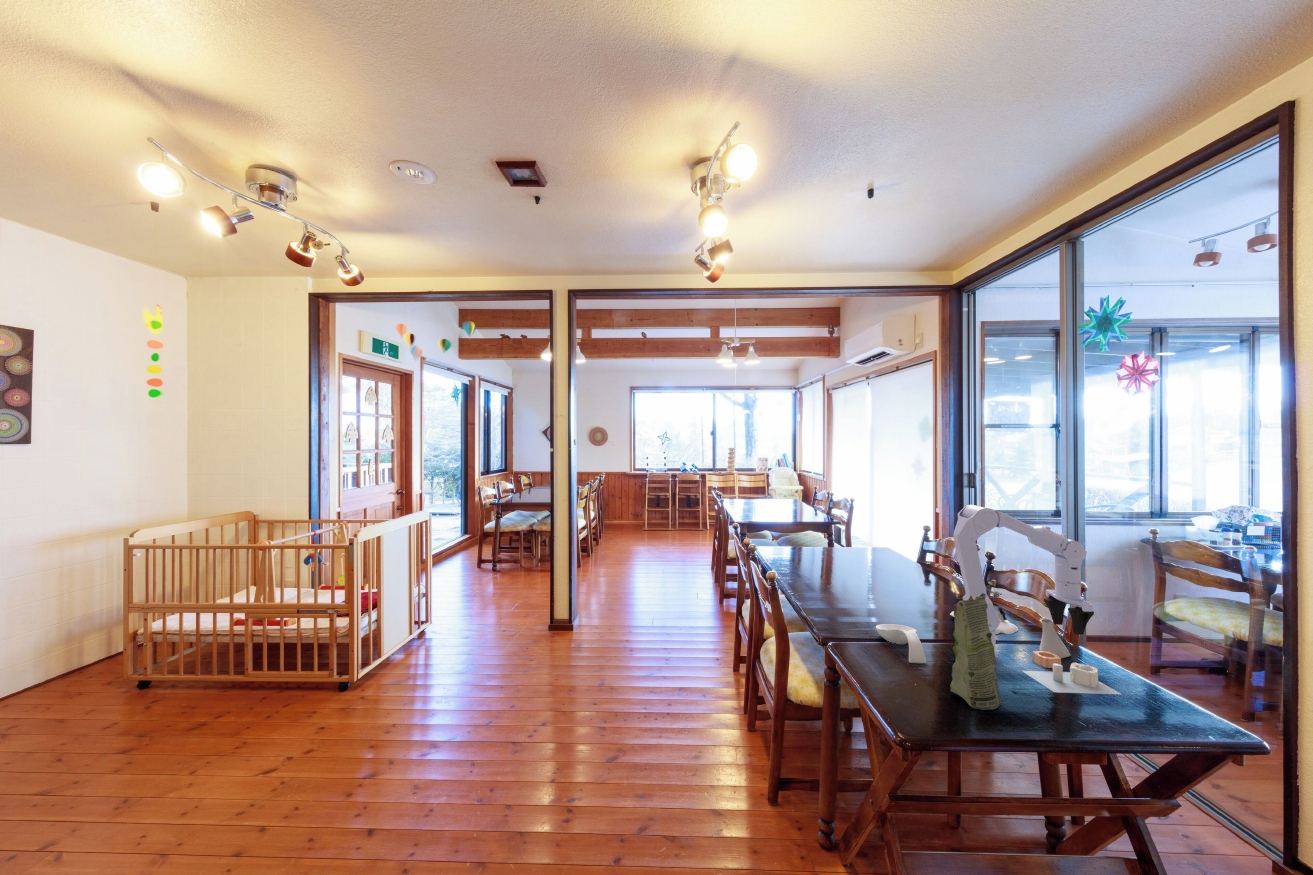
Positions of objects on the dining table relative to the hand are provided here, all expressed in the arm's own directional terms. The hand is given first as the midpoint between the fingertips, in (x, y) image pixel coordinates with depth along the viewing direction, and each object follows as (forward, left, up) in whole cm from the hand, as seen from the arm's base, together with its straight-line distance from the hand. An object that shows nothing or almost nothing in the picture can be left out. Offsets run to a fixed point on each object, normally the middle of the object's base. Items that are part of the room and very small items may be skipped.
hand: (1067, 629), depth 143 cm
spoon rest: (-42, +9, -10) cm, 44 cm away
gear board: (-10, -14, -10) cm, 20 cm away
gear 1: (-8, -3, -10) cm, 13 cm away
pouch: (-39, -23, -10) cm, 47 cm away
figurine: (-5, +32, -10) cm, 34 cm away
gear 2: (-6, -14, -9) cm, 17 cm away
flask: (0, +5, -9) cm, 10 cm away
